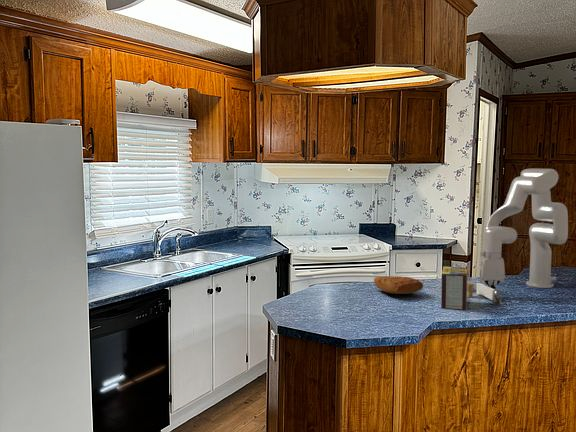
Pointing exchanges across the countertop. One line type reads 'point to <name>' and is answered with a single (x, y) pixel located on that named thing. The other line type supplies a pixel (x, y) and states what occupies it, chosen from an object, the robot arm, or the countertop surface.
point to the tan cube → (471, 283)
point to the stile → (469, 290)
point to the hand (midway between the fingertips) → (491, 294)
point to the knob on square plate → (497, 299)
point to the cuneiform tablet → (398, 284)
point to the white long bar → (485, 291)
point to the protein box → (454, 288)
